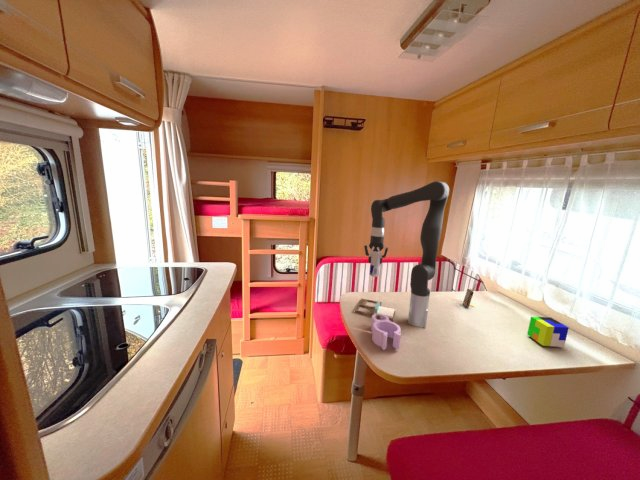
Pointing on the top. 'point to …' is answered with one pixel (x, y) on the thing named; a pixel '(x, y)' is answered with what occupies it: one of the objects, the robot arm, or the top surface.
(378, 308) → the slide cover
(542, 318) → the puzzle toy
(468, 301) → the walkie talkie
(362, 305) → the tan flat frame
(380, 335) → the clip
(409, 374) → the top surface
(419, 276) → the robot arm
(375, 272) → the beverage can
